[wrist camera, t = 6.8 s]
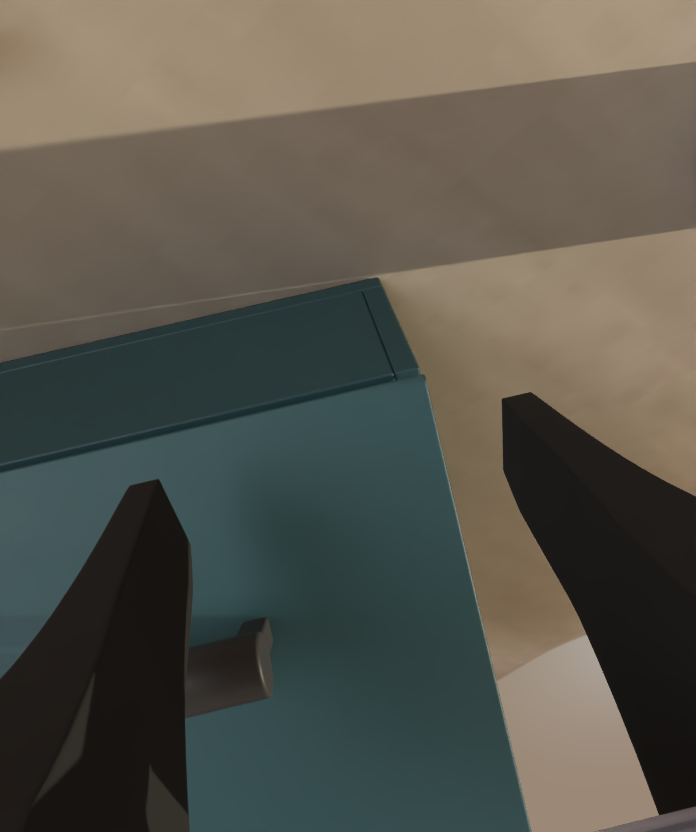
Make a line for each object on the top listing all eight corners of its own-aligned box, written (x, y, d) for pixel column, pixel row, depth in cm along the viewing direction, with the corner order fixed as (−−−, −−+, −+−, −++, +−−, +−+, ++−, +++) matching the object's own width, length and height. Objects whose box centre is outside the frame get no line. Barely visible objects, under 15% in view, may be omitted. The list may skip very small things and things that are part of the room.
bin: (419, 549, 31) (453, 656, 26) (100, 625, 30) (80, 746, 26) (378, 276, 22) (419, 367, 17) (-74, 378, 21) (-150, 498, 17)
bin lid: (549, 923, 17) (610, 1063, 13) (-21, 1067, 17) (-124, 1253, 13) (421, 375, 17) (446, 361, 14) (-147, 506, 17) (-286, 530, 13)
